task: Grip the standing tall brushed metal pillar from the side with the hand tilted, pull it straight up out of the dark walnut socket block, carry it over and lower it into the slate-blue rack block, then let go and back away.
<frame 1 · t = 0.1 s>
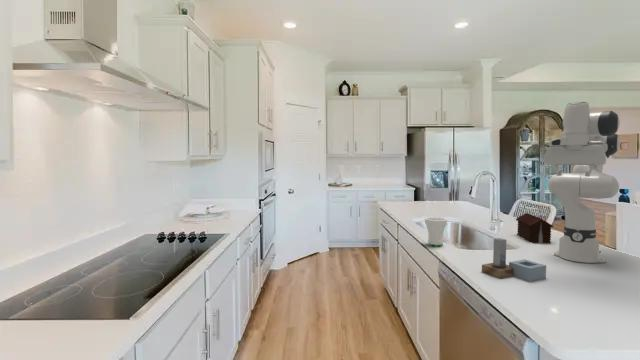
hand: (573, 176, 144), 39 cm above the worktop, tool pointing down, fingers open, 8 cm apart
rack block: (526, 276, 140), on the worktop
tall brushed metal pillar: (499, 256, 143), in the socket block
cup: (435, 245, 189), on the worktop
model building: (533, 239, 202), on the worktop
socket block: (499, 273, 143), on the worktop
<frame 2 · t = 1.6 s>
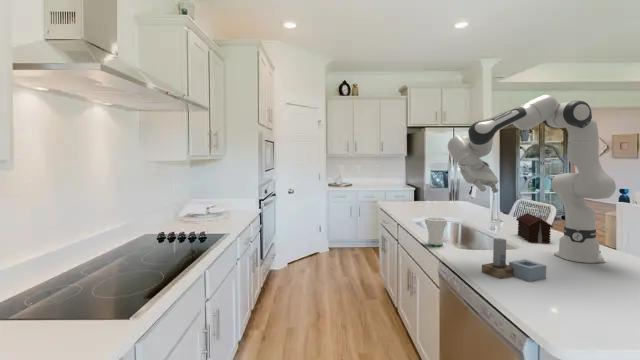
hand: (490, 191, 148), 33 cm above the worktop, tool tilted 45°, fingers open, 8 cm apart
nothing on the worktop moved.
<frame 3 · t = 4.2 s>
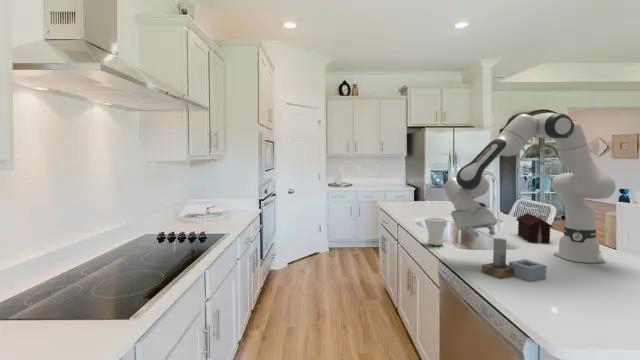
hand: (485, 235, 149), 14 cm above the worktop, tool tilted 45°, fingers open, 8 cm apart
nothing on the worktop moved.
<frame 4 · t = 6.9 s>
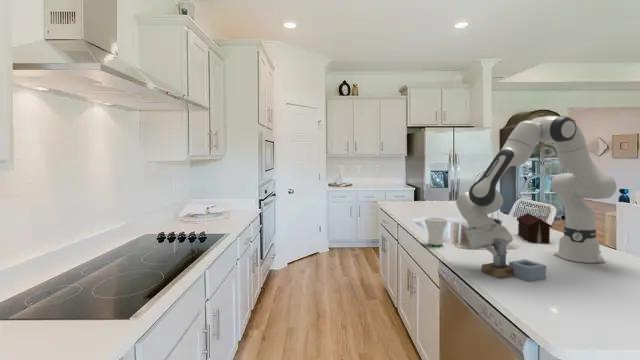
hand: (501, 254, 142), 8 cm above the worktop, tool tilted 45°, fingers closed on tall brushed metal pillar, 3 cm apart
tall brushed metal pillar: (499, 256, 143), in the socket block, touching gripper
everything else where it was.
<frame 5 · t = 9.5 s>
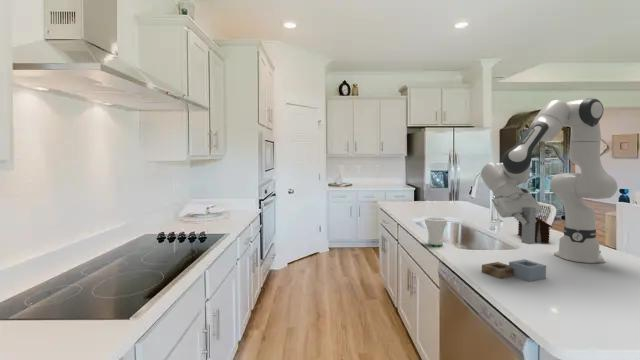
hand: (530, 223, 138), 21 cm above the worktop, tool tilted 45°, fingers closed on tall brushed metal pillar, 3 cm apart
tall brushed metal pillar: (528, 225, 139), point 20 cm above the worktop, touching gripper
everything else where it was.
when the fingers open (9 cm above the worktop, at t = 12.6 s): tall brushed metal pillar drops 1 cm, resting in rack block.
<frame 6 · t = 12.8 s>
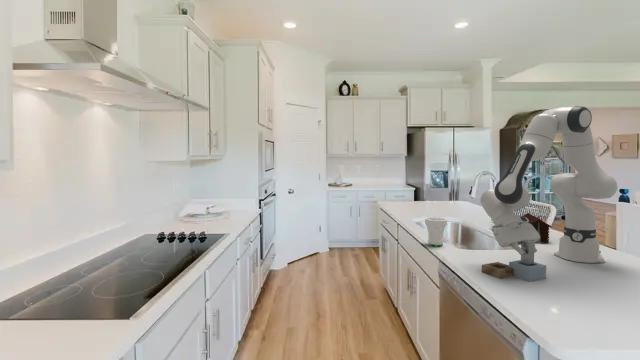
hand: (529, 253, 139), 9 cm above the worktop, tool tilted 45°, fingers open, 5 cm apart
tall brushed metal pillar: (527, 258, 140), in the rack block
everything else where it was.
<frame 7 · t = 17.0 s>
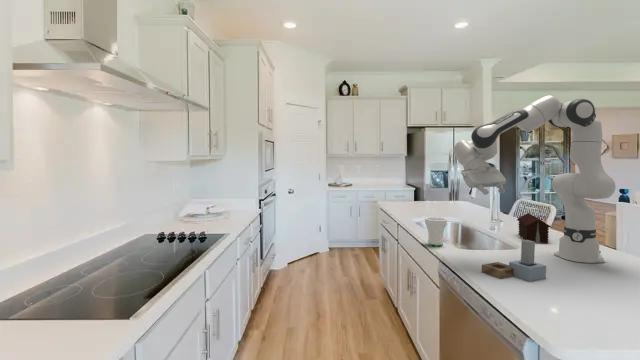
hand: (494, 193, 152), 31 cm above the worktop, tool tilted 45°, fingers open, 8 cm apart
nothing on the worktop moved.
at the end: tall brushed metal pillar 0.0 cm off-centre on the rack block, point 7.0 cm above the rack block's base; tall brushed metal pillar tilted 0°; the gripper is holding nothing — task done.
